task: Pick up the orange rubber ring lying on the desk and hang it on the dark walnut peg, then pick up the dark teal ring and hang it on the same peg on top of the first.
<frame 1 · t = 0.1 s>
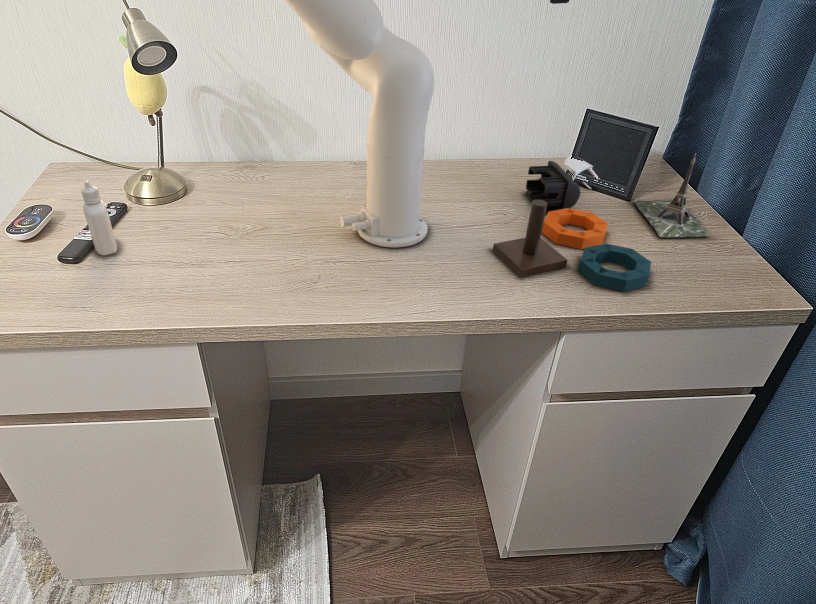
orange ring: (573, 233, 112), on the table
eiffel tower figurine: (669, 220, 118), on the table
end cap: (548, 204, 122), on the table
peg stand: (528, 259, 105), on the table
teal ring: (612, 272, 102), on the table
eye dropper bottle: (106, 249, 104), on the table
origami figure: (572, 184, 130), on the table
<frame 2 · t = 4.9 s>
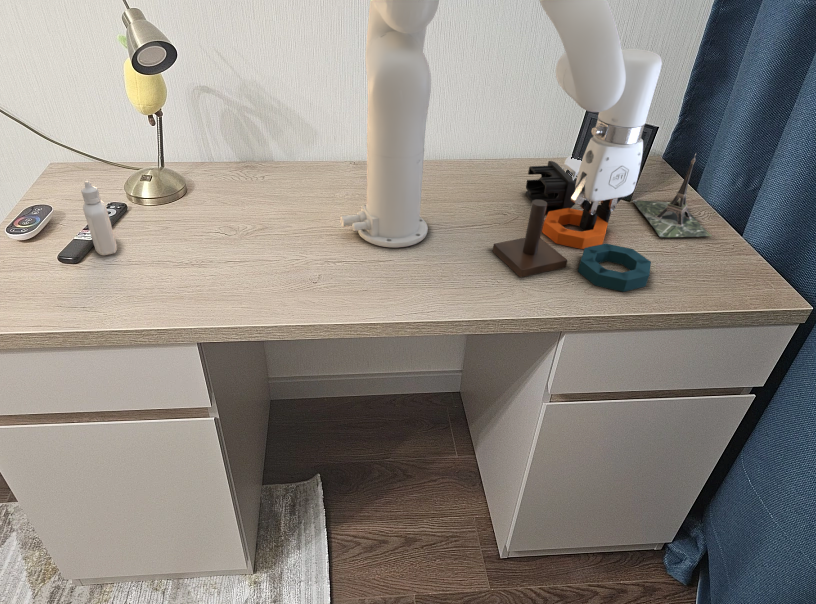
hand: (592, 228, 114), 0 cm above the table, tool pointing down, fingers closed on orange ring, 2 cm apart
orange ring: (573, 233, 112), on the table, touching gripper
everything else where it was.
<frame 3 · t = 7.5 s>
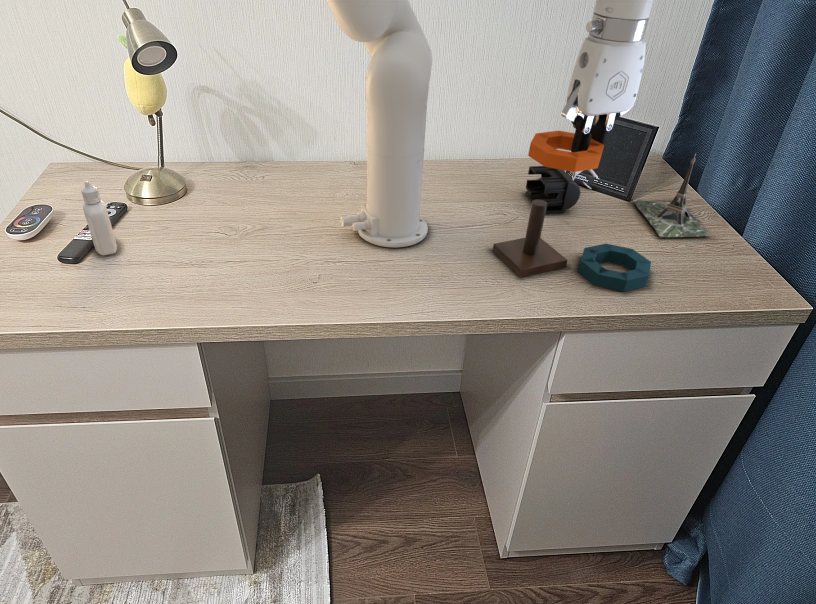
hand: (585, 153, 99), 17 cm above the table, tool pointing down, fingers closed on orange ring
orange ring: (564, 157, 97), point 17 cm above the table, touching gripper
everything else where it was.
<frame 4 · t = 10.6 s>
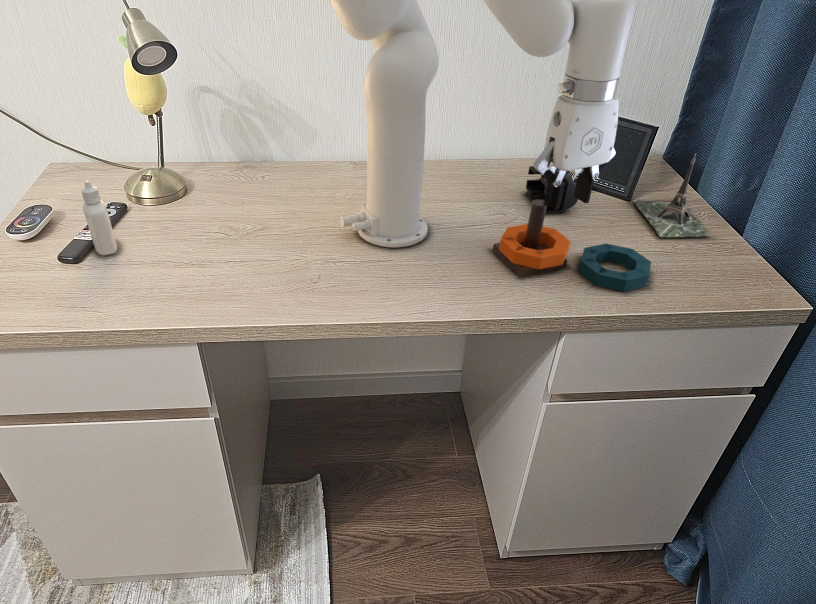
hand: (566, 202, 100), 10 cm above the table, tool pointing down, fingers open, 5 cm apart
orange ring: (533, 251, 104), point 1 cm above the table, touching peg stand
everything else where it was.
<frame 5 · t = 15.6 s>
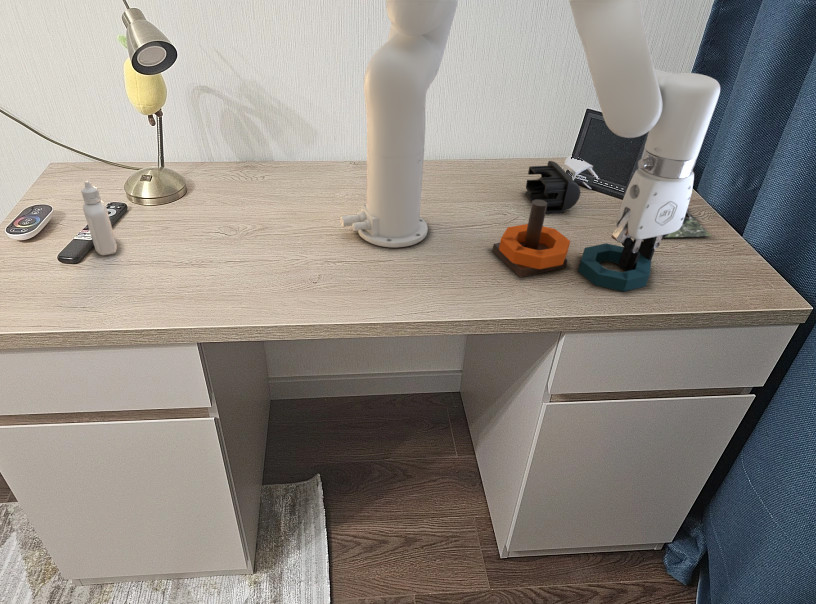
hand: (633, 266, 103), 0 cm above the table, tool pointing down, fingers closed on teal ring, 2 cm apart
teal ring: (612, 272, 102), on the table, touching gripper
everything else where it was.
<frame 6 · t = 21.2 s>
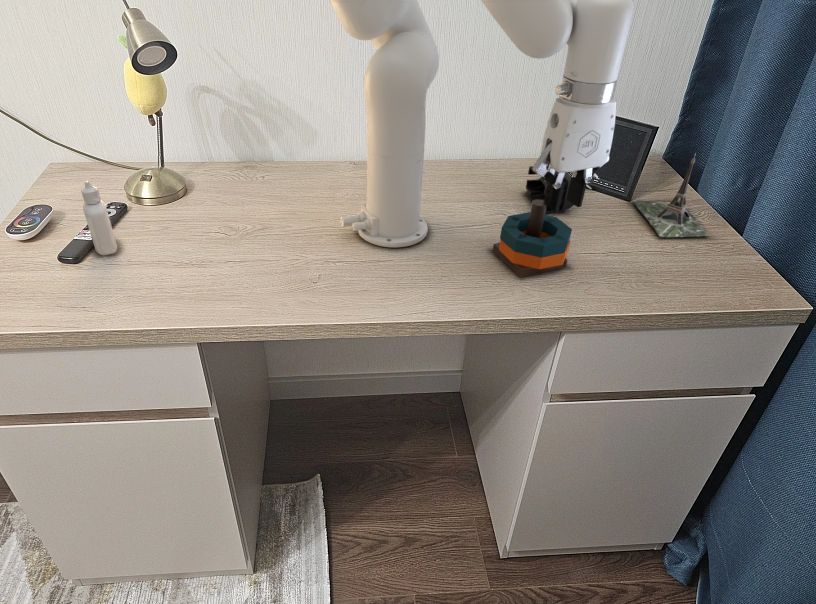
hand: (562, 204, 100), 9 cm above the table, tool pointing down, fingers open, 3 cm apart
orange ring: (533, 251, 104), point 1 cm above the table, touching peg stand, teal ring
teal ring: (534, 239, 103), point 4 cm above the table, touching orange ring
everything else where it was.
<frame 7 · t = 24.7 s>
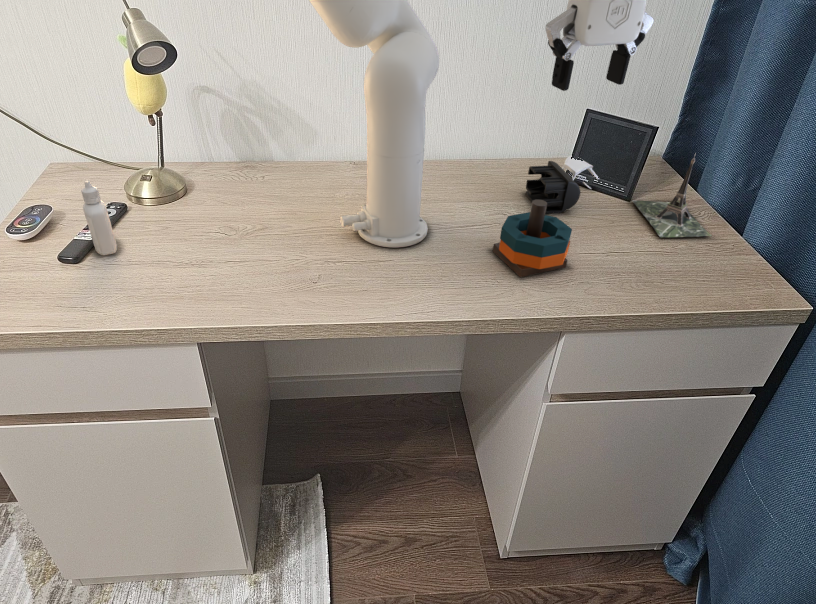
hand: (587, 84, 89), 28 cm above the table, tool pointing down, fingers open, 9 cm apart
nothing on the table moved.
at the end: orange ring 0.6 cm off-centre on the peg stand, point 1.5 cm above the peg stand's base; teal ring 0.4 cm off-centre on the peg stand, point 3.7 cm above the peg stand's base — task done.
